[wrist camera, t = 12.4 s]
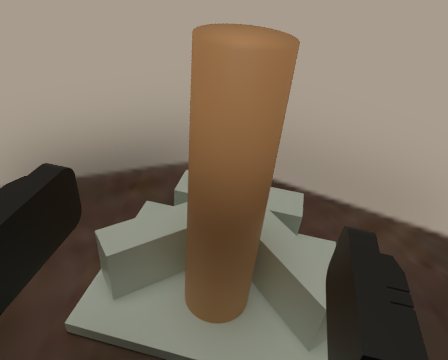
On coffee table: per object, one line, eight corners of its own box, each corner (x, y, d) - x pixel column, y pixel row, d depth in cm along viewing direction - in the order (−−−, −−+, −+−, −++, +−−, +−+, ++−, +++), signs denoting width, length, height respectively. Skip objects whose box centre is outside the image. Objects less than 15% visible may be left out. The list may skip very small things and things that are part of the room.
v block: (67, 331, 18) (50, 278, 15) (147, 208, 26) (144, 161, 24) (340, 408, 16) (371, 362, 14) (332, 249, 24) (350, 203, 22)
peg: (175, 313, 18) (177, 39, 10) (195, 263, 21) (208, 19, 13) (241, 330, 18) (297, 57, 10) (252, 277, 21) (301, 32, 13)
